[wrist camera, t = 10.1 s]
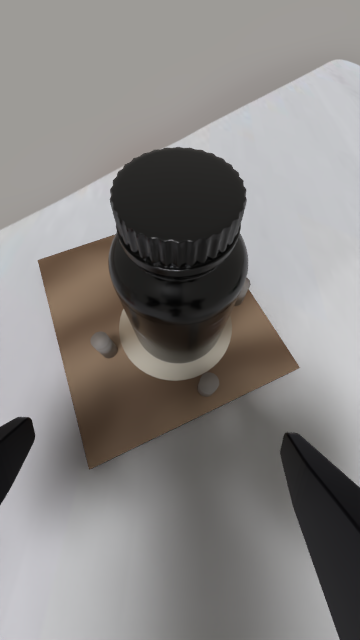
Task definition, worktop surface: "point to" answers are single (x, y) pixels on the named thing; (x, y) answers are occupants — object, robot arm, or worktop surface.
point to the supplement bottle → (178, 249)
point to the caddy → (145, 358)
